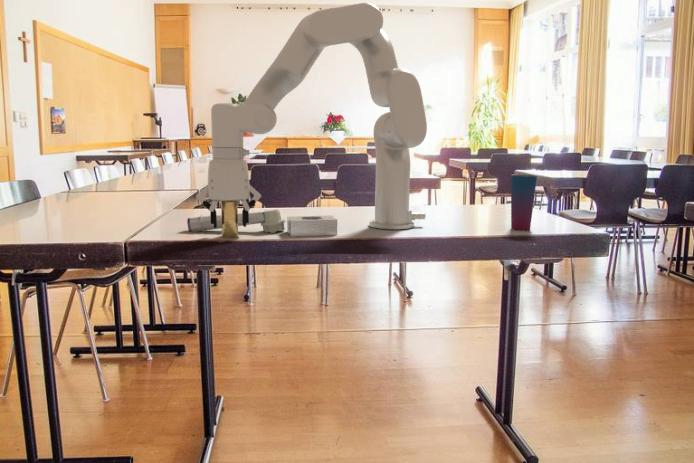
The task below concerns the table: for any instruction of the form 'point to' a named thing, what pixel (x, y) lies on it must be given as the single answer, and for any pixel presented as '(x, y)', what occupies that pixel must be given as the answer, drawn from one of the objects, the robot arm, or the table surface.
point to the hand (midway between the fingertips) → (229, 225)
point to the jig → (311, 225)
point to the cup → (522, 200)
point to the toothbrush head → (267, 219)
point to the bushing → (229, 219)
